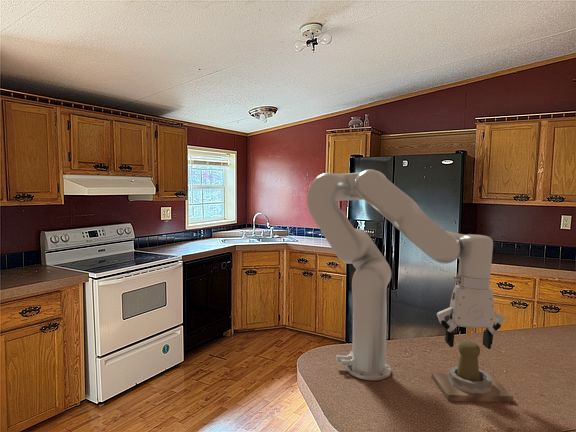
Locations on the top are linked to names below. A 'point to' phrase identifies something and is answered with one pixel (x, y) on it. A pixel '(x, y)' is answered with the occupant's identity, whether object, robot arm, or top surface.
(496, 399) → the socket board
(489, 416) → the top surface
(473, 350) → the olive green peg
